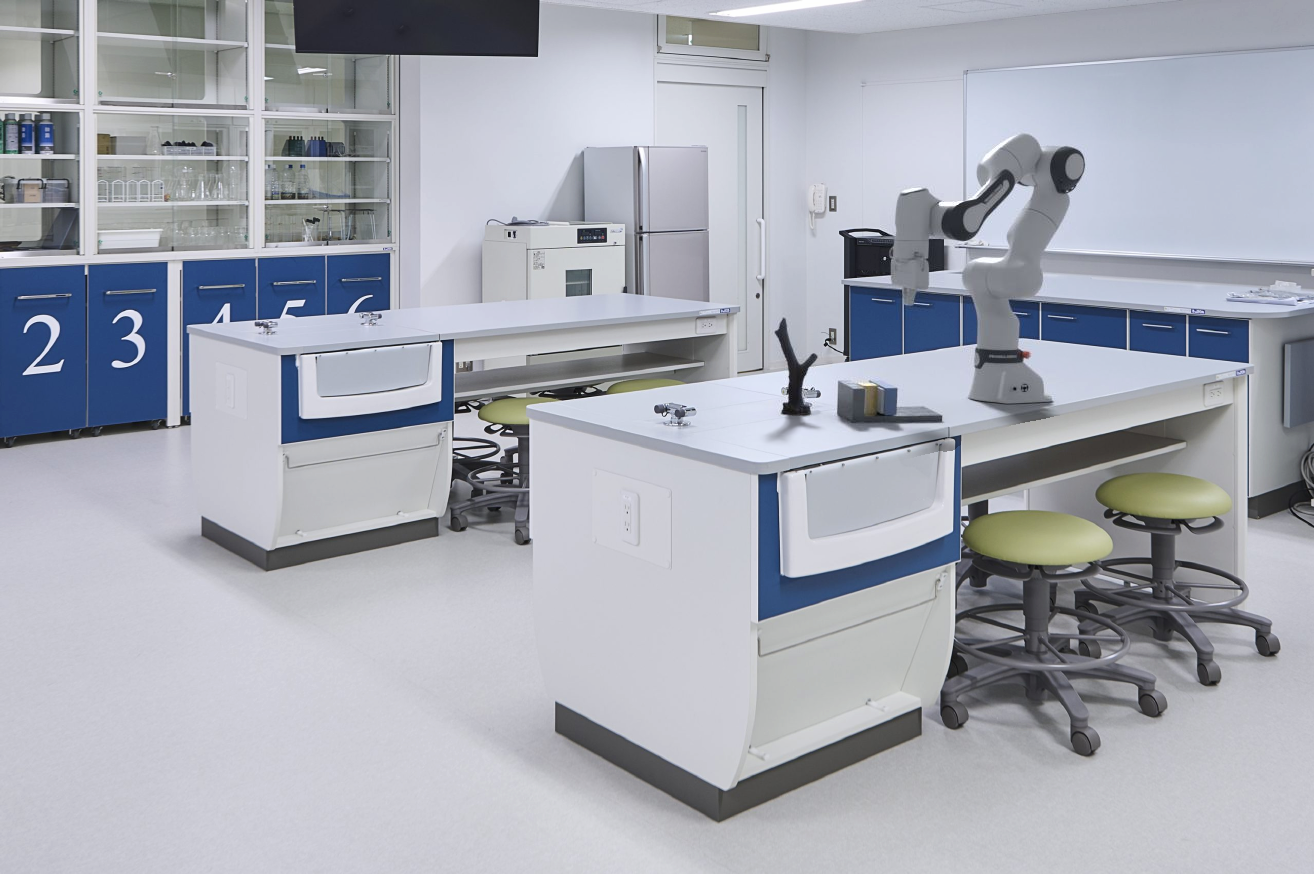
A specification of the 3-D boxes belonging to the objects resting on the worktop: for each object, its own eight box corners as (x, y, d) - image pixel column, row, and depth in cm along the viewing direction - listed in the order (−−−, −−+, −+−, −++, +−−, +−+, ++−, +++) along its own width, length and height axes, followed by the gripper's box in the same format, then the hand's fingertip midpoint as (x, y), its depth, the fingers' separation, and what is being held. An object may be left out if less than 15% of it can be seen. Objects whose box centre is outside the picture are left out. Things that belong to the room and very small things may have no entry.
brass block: (870, 409, 306) (871, 382, 304) (876, 413, 301) (877, 385, 299) (855, 410, 305) (856, 382, 304) (861, 413, 300) (862, 385, 299)
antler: (797, 409, 315) (800, 314, 310) (819, 413, 309) (823, 316, 304) (766, 414, 307) (768, 316, 303) (789, 418, 301) (791, 318, 297)
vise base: (923, 412, 312) (924, 379, 310) (942, 421, 298) (943, 387, 297) (836, 413, 309) (838, 380, 308) (852, 422, 296) (853, 388, 294)
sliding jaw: (879, 405, 310) (880, 380, 309) (896, 414, 297) (897, 388, 295) (865, 406, 310) (866, 380, 309) (882, 415, 296) (883, 388, 295)
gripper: (936, 253, 302) (933, 308, 305) (910, 250, 322) (907, 302, 325) (912, 253, 301) (909, 308, 304) (887, 250, 321) (885, 302, 324)
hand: (908, 305), depth 314 cm, fingers closed
